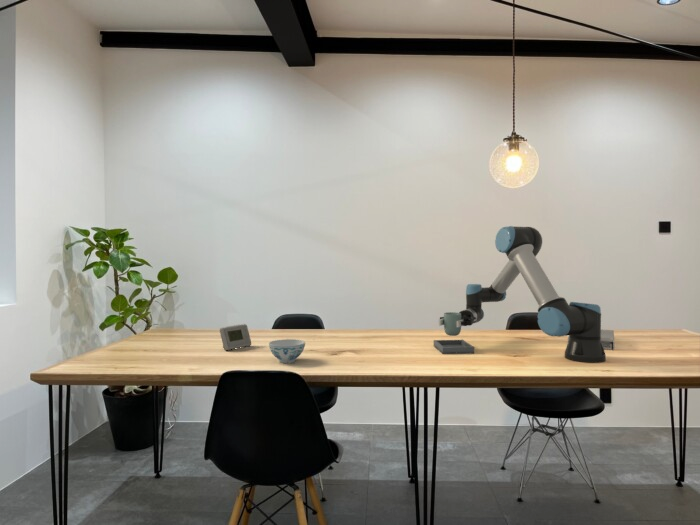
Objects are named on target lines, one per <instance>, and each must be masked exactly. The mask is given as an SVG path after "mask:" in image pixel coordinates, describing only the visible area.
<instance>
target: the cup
mask: <svg viewBox="0 0 700 525" xmlns="http://www.w3.org/2000/svg"><path fill="white" fill-rule="evenodd" d="M443 317H444V325H443V329H444V333H445V335H447V336H449V337H452V336H453V337H455V336H459V335H460V334H461V332H462V326H461V327H457V321H459V320H461V313H459V312H455V311H454V312H449V311H448V312H444V313H443Z"/></svg>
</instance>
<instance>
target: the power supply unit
mask: <svg viewBox="0 0 700 525" xmlns="http://www.w3.org/2000/svg"><path fill="white" fill-rule="evenodd" d="M568 342H569V336H568V337H567V343H568ZM601 343H602V346H603V349H604V351H605V350H606V351H608V350H609V351H615V330H614V329H601Z"/></svg>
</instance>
